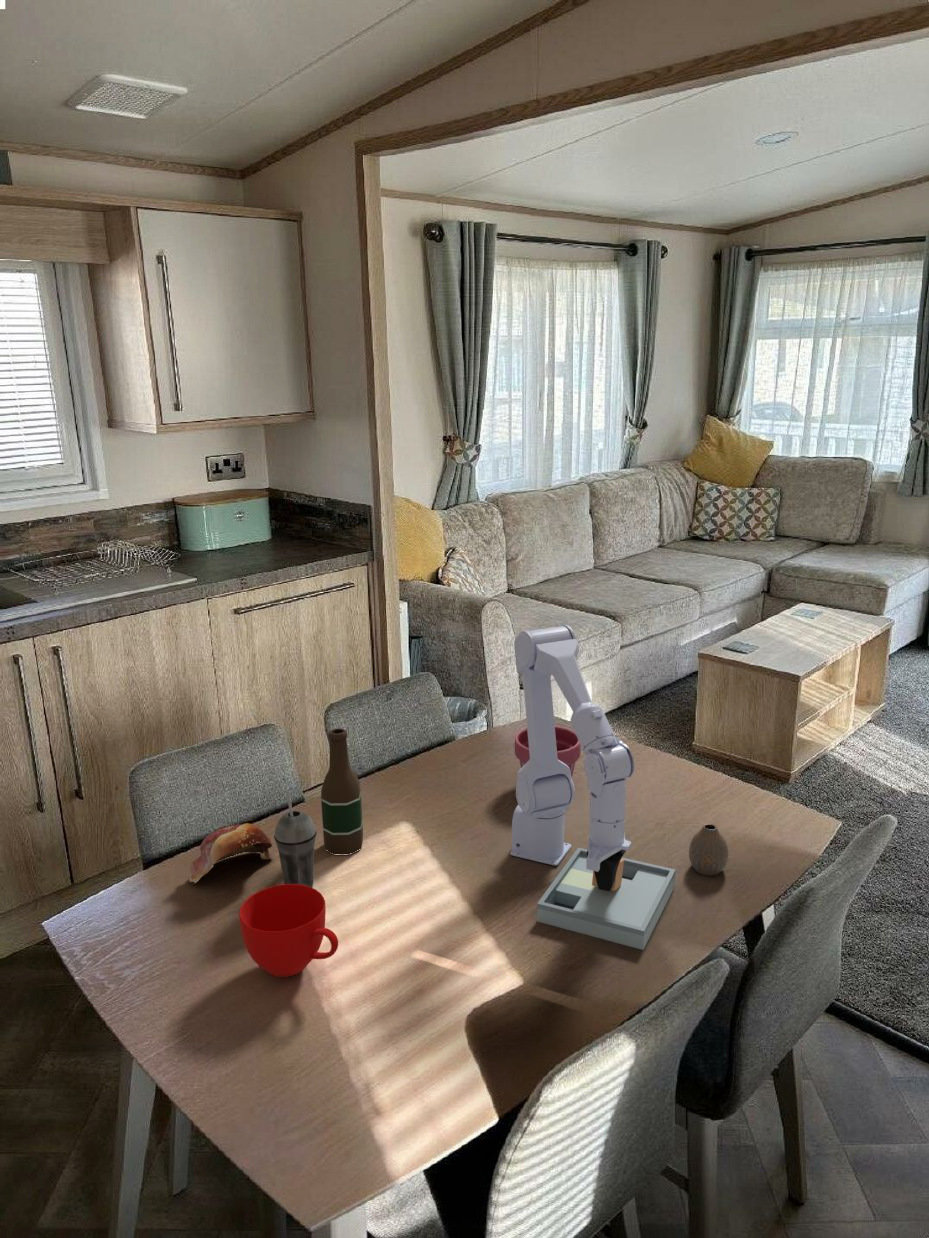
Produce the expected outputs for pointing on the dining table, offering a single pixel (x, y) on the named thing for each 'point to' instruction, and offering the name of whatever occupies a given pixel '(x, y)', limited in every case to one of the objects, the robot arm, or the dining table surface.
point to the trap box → (608, 901)
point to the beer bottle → (341, 800)
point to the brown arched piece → (229, 846)
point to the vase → (708, 851)
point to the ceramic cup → (285, 928)
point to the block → (617, 878)
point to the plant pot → (565, 746)
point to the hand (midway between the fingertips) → (605, 888)
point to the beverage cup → (296, 846)
